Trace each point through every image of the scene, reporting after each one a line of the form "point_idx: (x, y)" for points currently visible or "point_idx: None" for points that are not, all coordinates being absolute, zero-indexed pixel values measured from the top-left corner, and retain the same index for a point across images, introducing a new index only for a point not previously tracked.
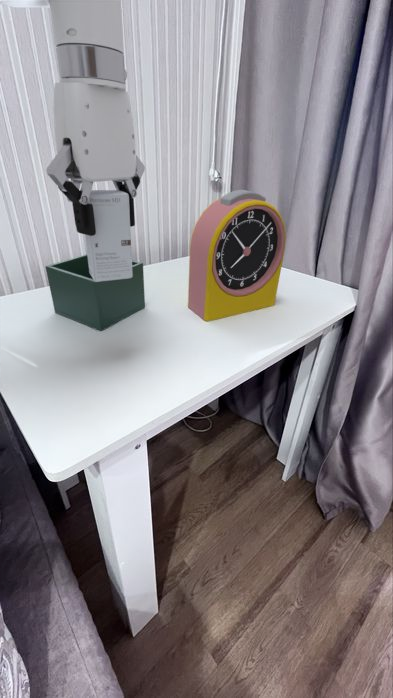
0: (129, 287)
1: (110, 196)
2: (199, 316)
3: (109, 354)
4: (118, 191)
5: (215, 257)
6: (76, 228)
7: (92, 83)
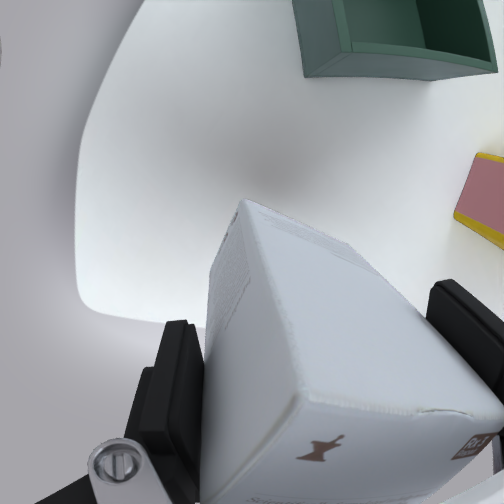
0: (428, 69)
1: None
2: (461, 195)
3: (258, 160)
4: (449, 472)
5: None
6: (166, 325)
7: None
